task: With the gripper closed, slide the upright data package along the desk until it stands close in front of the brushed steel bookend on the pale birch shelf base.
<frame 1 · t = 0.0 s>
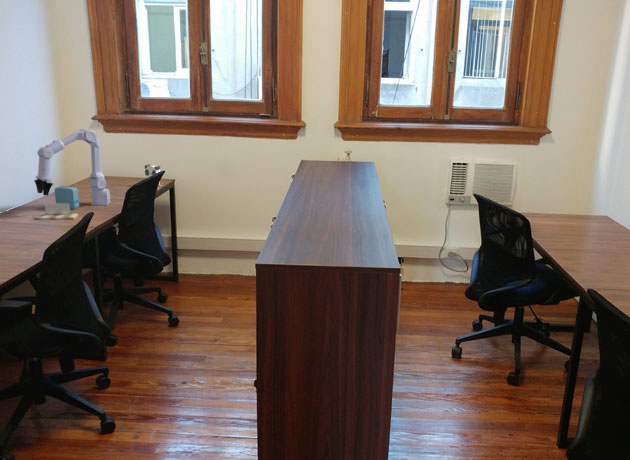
hand: (42, 194, 305), 11 cm above the table, tool pointing down, fingers open, 7 cm apart
bookend: (56, 217, 299), on the table
panda figurine: (154, 187, 377), on the table
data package: (68, 208, 319), on the table
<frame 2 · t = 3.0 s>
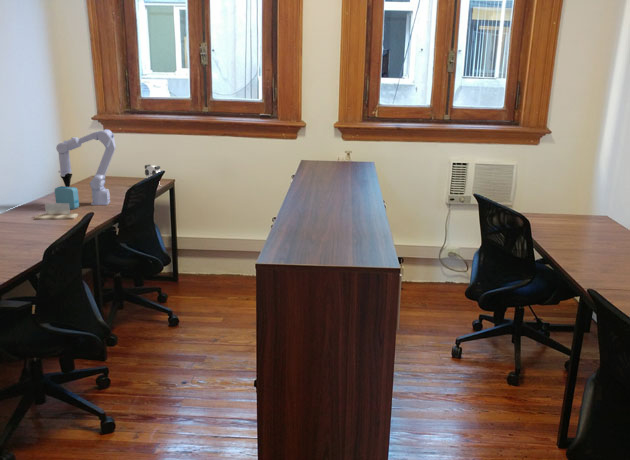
hand: (67, 186, 326), 10 cm above the table, tool pointing down, fingers closed
nothing on the table moved.
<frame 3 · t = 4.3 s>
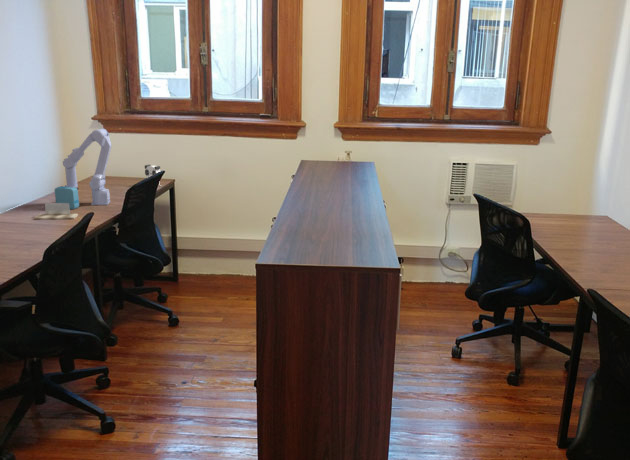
hand: (73, 200, 330), 1 cm above the table, tool pointing down, fingers closed
nothing on the table moved.
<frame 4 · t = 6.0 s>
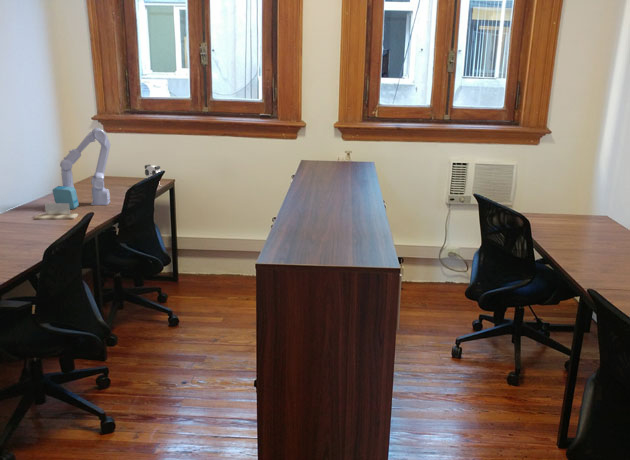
hand: (70, 203, 323), 1 cm above the table, tool pointing down, fingers closed
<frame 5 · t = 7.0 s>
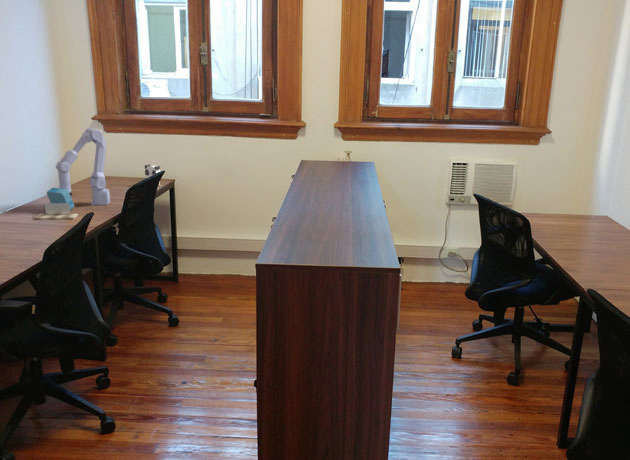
hand: (67, 205, 318), 1 cm above the table, tool pointing down, fingers closed
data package: (64, 208, 315), point 1 cm above the table, touching gripper
everything else where it was.
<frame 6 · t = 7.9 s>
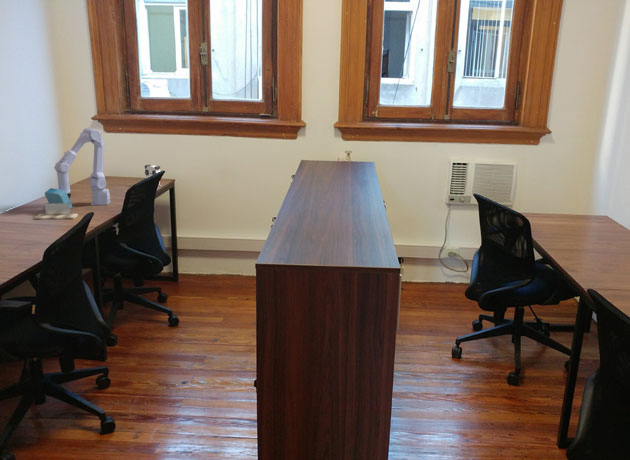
hand: (66, 206, 316), 1 cm above the table, tool pointing down, fingers closed
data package: (62, 209, 313), point 1 cm above the table, touching gripper
everything else where it was.
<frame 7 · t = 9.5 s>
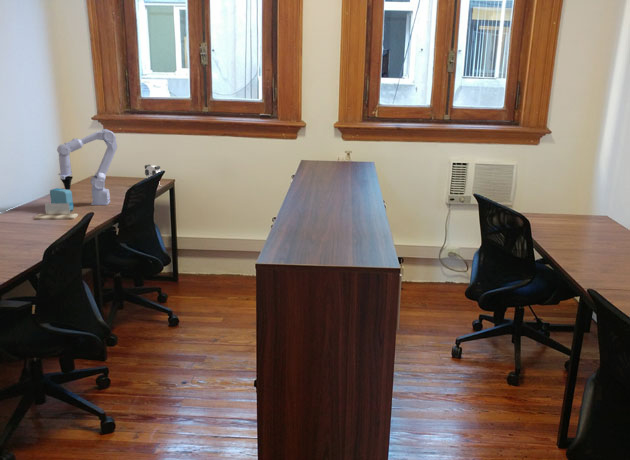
hand: (67, 189, 319), 10 cm above the table, tool pointing down, fingers closed
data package: (63, 210, 314), on the table
everything else where it was.
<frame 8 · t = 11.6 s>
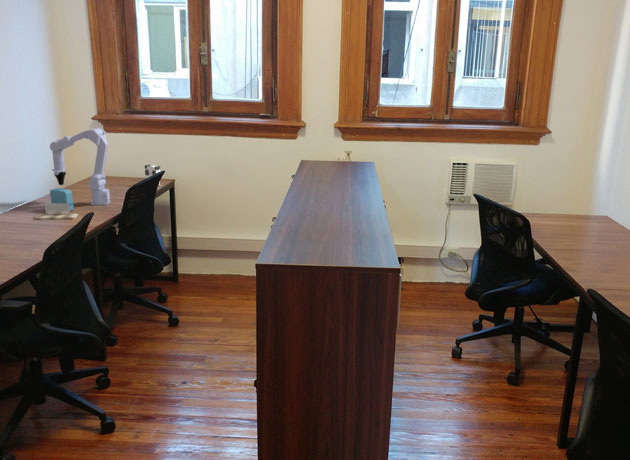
hand: (61, 184, 330), 10 cm above the table, tool pointing down, fingers closed
nothing on the table moved.
at the end: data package inside the target area (2.6 cm from its centre), on the table; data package tilted 0°; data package moved 6.0 cm from its start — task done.
